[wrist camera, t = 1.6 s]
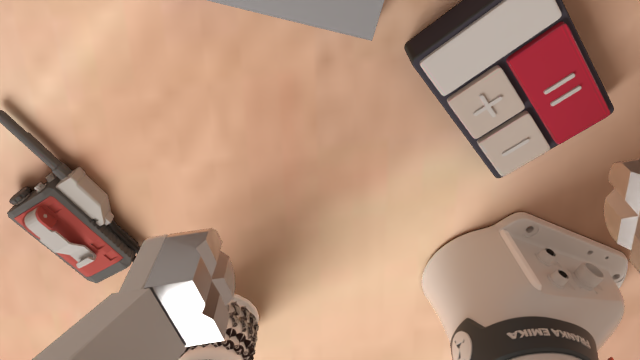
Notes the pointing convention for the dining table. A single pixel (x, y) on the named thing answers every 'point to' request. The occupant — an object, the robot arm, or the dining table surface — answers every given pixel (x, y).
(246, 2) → the chassis deck
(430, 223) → the dining table surface
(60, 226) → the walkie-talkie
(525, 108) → the calculator
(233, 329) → the white patterned cylinder
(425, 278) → the robot arm
